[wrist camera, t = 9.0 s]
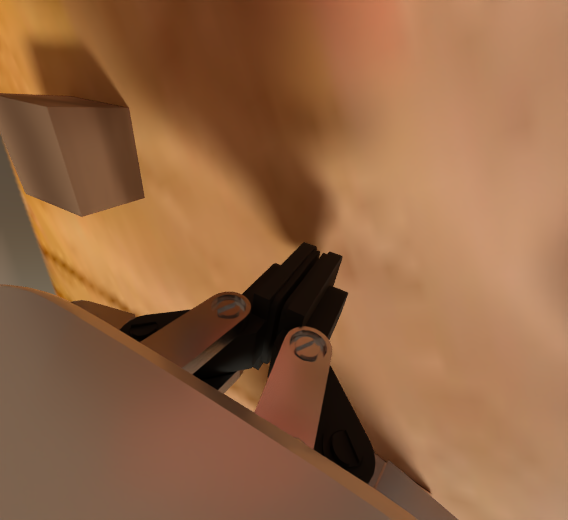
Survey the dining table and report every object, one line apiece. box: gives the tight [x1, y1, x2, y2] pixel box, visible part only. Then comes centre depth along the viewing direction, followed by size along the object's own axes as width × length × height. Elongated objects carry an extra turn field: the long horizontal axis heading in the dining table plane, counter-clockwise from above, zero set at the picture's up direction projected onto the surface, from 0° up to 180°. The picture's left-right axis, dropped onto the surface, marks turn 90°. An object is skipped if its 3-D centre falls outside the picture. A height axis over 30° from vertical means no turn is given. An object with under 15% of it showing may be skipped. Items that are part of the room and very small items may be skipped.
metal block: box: [0, 93, 145, 217], centre depth 15 cm, size 5×5×4 cm
